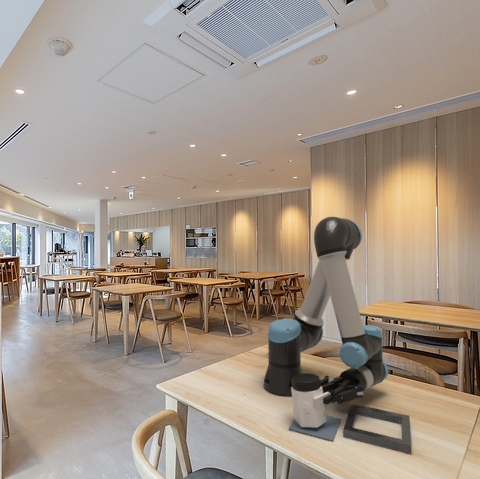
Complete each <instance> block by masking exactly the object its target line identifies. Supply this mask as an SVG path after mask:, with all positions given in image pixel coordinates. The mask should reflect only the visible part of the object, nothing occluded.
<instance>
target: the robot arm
mask: <svg viewBox="0 0 480 479" xmlns="http://www.w3.org/2000/svg"><path fill="white" fill-rule="evenodd" d="M362 239H363V233H362V229H361V228H360V226H359V225H358V224H357V223H356V222H354V221H353V220H350V219H348V218H342V217H337V216H327V217H325V218H323V219H321V220H320V221H318V223H317V224H316V226H315V228H314V232H313V242H314V243H313V244H314V248H315V249H314V250H315V252H316V256H317V257H316V258H317V259H318V263H317V264H316V268H315V270H314V273H313V275H312V278H311V280H310V283H309V286H308V289H307V291H306V294H305V296H304V299H303V301H302V303H301V304H302V305H301V308H298V309H296V310H295V312H294V314H293V317H292V318H283V319H275V320H274V321H272V322H271V323H270V324H269V325H268V332H267V337H268V344H267V345H268V346H267V347H268V366H267V368H266V372H265V375H264V377H263V388H264V389H265V391H267V392H269V393H271V394H272V395H276V396H282V397H292V392H291V387H292V380H291V378H292V377H293V376H295V375H298V374H304V372H303V369H302V366H301V365H302V362H301V361H302V360H301V356H302V355H301V354H302V353H303V352H304V351H307V350H309V349H312V348H314V347H316V346H317V345H318V344H319V343H320V342H321V341H322V338H323V335H324V330H323V326H324V319H323V315H324V312H325V309H326V307H327V305H328V302H329V301H330V300H331V304H332V307H333V312H334V316H335V319H336V323H337V327H338V331H339V332H338V333H339V335H340V339H341V343H342V345H341V347H340V349H339V357H340V360H341V361H342V363H343V364H345V366H346V367H349V368H347V369H345V370H343V371H342V372H341V373H340V375H339V376H338V377H337V376H336V377H334V378H331V377H330V376H329V375H325V376H324V378H322V379H320V385H321V387H322V389H323V394H321V395H319V396H317V397H316V398H313V409H318V408H320V407H321V406H323V405H329V404H331V403H333V404H335V403H337V404H338V405H342V404H345V403H348V402H351V401H353V400H355V399H359V398H360V399H361V398H364V391H366V390H369V388H372V387H374V386H376V385H378V384H381V383H382V382H383V381H384V380H386V379H387V378H388V376H389V368H388V365H387V364H386V362H385V361H384V359H383V339H384V338H383V334H382V331H383V330H382V329H381V328H380V327H379V326H377V325H376V326H375V325H371V324H370V325H368V324H365V325H364V324H363V322H362V318H361V317H362V316H361V313H360V310H359V306H358V301H357V298H356V295H355V291H354V287H353V283H352V280H351V276H350V272H349V268H348V264H347V261H349V260H351V256H352V255H353V252H354V250H356V249H357V248H358V246H359V245H360V244H361V243H362ZM329 299H330V300H329Z"/></svg>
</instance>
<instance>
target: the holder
mask: <svg viewBox="0 0 480 479" xmlns="http://www.w3.org/2000/svg"><path fill="white" fill-rule="evenodd" d="M358 415H359V416H363V417H367V418H371V419H376V420H379V421H380V420H381V421H385V422H390V423H394V424H398V425H401V438H398V437H397V438H396V437H394V436H389V435H385V434H380V433H378V432H373V431H368V430H366V429H365V430H364V429H360V428H357V427H356V428H355V425H356V423H357V422H356V421H357V417H358ZM410 419H411V418H410V415H409V414H408V415H407V414H403V413H399V412H394V411H390V410H389V411H388V410H384V409H380V408H379V409H378V408H375V407H370V406H365V405H361V404H356V403H351V404H350V406H349V410H348V413H347V416H346V419H345V422H344V425H343V430H342V431H343V432H342V436H343V438H346V439H348V440H349V439H350V440H353V441H358V442H362V443H366V444H370V445H374V446H379V447H380V448H386V449H390V450H391V451H392V450H393V451H397V452H400V453H405V454H409V455H412V436H411V421H410Z"/></svg>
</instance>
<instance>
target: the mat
mask: <svg viewBox="0 0 480 479" xmlns="http://www.w3.org/2000/svg"><path fill="white" fill-rule="evenodd" d="M326 420H327V421H326V422H325V423H324V424H322V425H321V426H319V427H318V428H311V427H301V426H300V425H299V424H298V423H297V422H296V421H295V418H294V419H293V421H292V422H291V424H290V426H289V427H288V431H291V432H295V433H298V434H301V435H306V436H308V437H309V436H310V437H313V438H318V439H321V440H325V441H328V442H332V443H334V441H335V438H336V435H337V431H338V429H339V427H340V423H341V421H342V419H341V417H335V416H331V415H327V414H326Z"/></svg>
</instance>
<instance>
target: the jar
mask: <svg viewBox="0 0 480 479" xmlns="http://www.w3.org/2000/svg"><path fill="white" fill-rule="evenodd" d="M291 380H292V387H291V392H292V396H291V398H292V407H293V409H292V410H293V418H294V419H295V421H296V422H297V423H298V424H299V425H300V426H301V427H311V428H318V427H319V426H321V425H322V424H324V423H325V422H326V421H327V420H326V415H327V414H326V413H327V412H326V408H325V405H326V404H325V405H323V406H321V407H320V408H318V409H313V398H316V397H317V396H319V395H321V394H323V389H322V387H321V385H320V380H321V378H320V375H318V374H316V373H310V372H309V373H305V372H304V373H303V374H298V375H295V376H293V377H292V378H291Z"/></svg>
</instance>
